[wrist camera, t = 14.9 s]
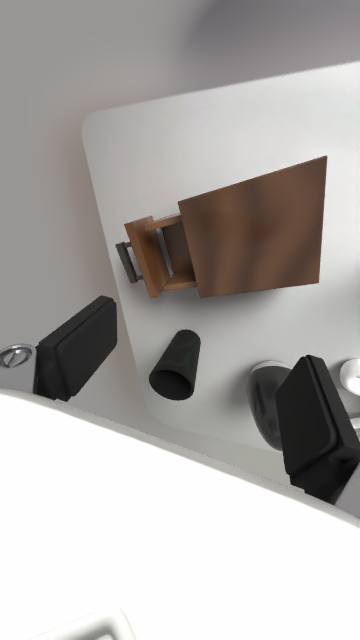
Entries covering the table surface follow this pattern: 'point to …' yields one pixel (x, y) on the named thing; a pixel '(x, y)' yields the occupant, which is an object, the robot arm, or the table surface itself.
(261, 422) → the pump dispenser
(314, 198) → the cabinet
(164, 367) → the cup
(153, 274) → the drawer
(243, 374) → the table surface
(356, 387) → the stomach
